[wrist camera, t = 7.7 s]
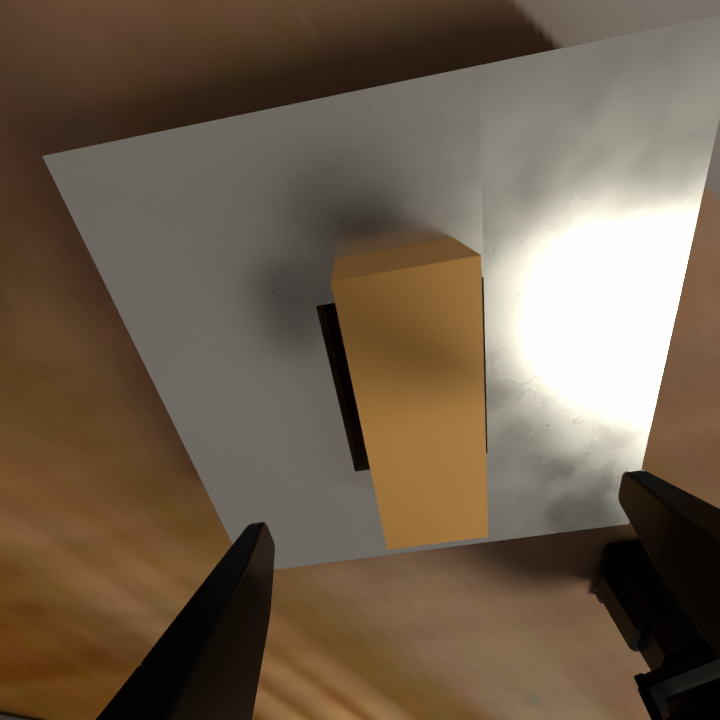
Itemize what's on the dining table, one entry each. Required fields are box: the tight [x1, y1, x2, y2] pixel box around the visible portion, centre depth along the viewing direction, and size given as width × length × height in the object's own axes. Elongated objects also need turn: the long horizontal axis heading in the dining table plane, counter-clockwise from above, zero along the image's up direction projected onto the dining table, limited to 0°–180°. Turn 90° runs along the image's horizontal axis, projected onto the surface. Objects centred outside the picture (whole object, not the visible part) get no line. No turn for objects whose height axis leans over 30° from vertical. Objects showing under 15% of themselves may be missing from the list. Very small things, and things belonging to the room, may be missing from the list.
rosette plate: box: [42, 15, 720, 569], centre depth 17 cm, size 20×20×5 cm
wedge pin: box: [331, 238, 488, 550], centre depth 15 cm, size 4×11×7 cm, turn 10°
